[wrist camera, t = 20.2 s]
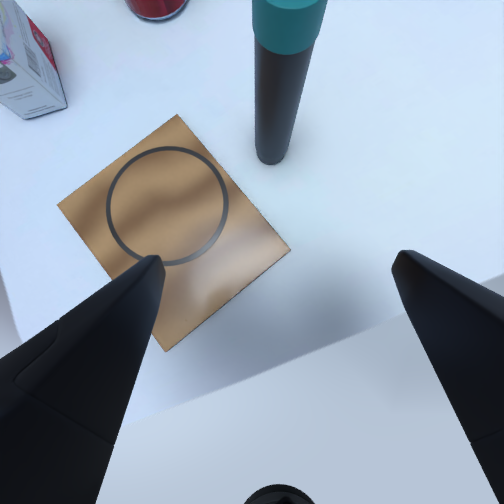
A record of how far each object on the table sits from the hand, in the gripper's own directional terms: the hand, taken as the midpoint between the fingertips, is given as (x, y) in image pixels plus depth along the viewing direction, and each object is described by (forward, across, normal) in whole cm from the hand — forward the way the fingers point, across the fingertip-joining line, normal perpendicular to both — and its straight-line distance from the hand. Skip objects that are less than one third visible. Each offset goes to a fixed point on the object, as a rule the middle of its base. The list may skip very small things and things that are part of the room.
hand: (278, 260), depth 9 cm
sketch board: (+13, +9, +7) cm, 17 cm away
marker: (+18, -1, +1) cm, 18 cm away
